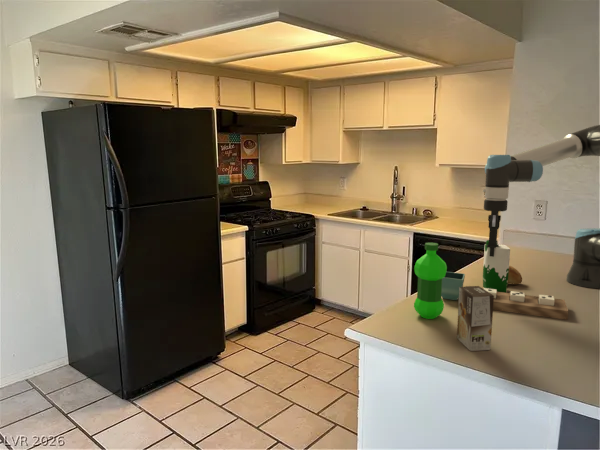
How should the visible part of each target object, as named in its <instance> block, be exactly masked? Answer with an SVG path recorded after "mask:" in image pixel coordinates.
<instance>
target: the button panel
mask: <svg viewBox="0 0 600 450" xmlns="http://www.w3.org/2000/svg"><path fill="white" fill-rule="evenodd" d="M510 293H511V292H506V293H504V292H496V299H495V298H494V302H493V311H500V312H508V313H516V314H524V315H529V316H539V317H545V318H552V319H559V320H568V318H569V309H568V307H567V303H566V301H565V299H562V298H561V299H560V298H554V306H551V305H543V304H538V301H539V296H537V295H529V294H528V295H527V294H525V298H524V302H519V301H511V300H510Z"/></svg>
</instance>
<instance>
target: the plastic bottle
mask: <svg viewBox="0 0 600 450" xmlns="http://www.w3.org/2000/svg"><path fill="white" fill-rule="evenodd" d="M424 250H426V252H425V254H424V255H422V256H421V257H420V258H418V259H417V260H416V262H415V263H414V264H415V265H414V268H413V270H414V274H415V275H416V277H417V292H416V293H417V295H416V298H415V300H414V303H413V308H414V310H415V312H416V313H418V315H420V317H421V318H423V319H428V320H434V319H436V318H438V317H439V316H441V314H442V313H443V311H444V308H445V302H444V300H443V298H442V296H441V295H442V279H443V278H444V277H445V275H446V272H448V271H447V269H448V266H447V263H446V262H445V260H443V258H442V257H440V256H439V255H438V254H437V251H439V243H437V242H425V243H424Z"/></svg>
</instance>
